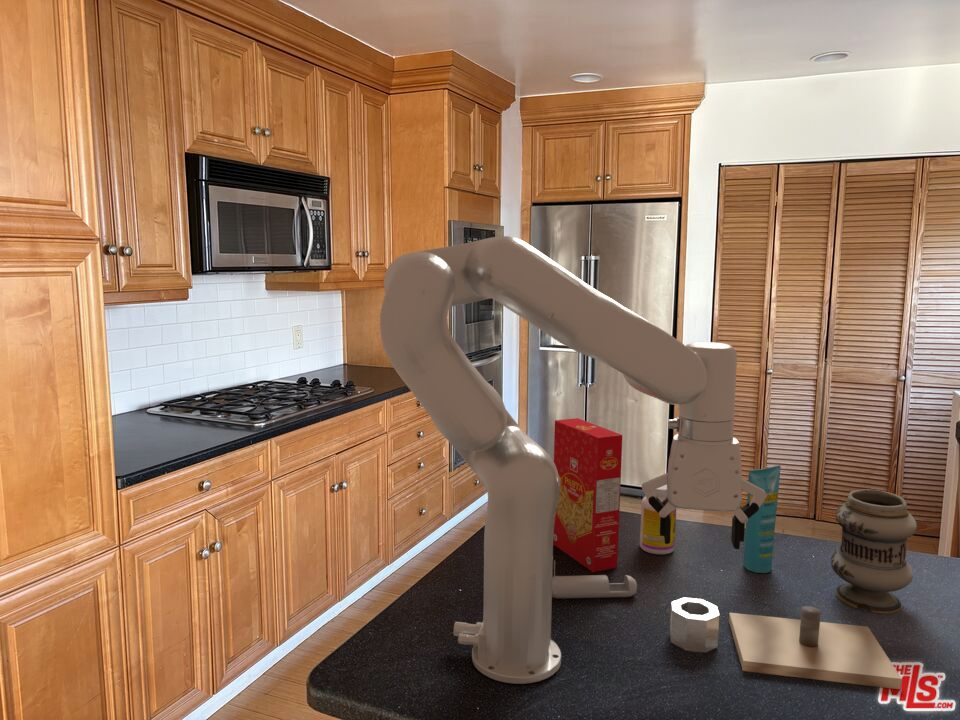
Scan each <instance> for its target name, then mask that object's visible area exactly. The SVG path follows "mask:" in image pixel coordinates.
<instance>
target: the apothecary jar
mask: <svg viewBox="0 0 960 720" xmlns="http://www.w3.org/2000/svg"><path fill="white" fill-rule="evenodd" d="M835 519H836V521H837V523H838V525H840V527H841V540H840V545H839V547H840V548H838V549H837V550H836V551H834V552H833V554H832V555H831V558H830V566H831V568H832V570H833V571H834V573H835V574H836V575H837V576H838V577H839V578H840V579H842V581H845V582H846V583H844V584H841V585H838V586H837V587H836V588H835V590H834V593H835V596H836V598H838V600H840V601H841V602H843V603H844V604H846V605H847V606H850V607H852V608H855V609H859V610H866V611H868V612H870V613H876V614H883V613H887V614H893V612H894V613H897V612H899V611H900V610H901V609H902V603H901V601H900V600H899V598H898V597H897V596H896V595H894V594H892V593H891V592H896V591H899V590H903V589H905V587H907V586H909V585H910V584H911V583H912V581H913V578H914V572H913V568H912V567H911V565H910V564H909V562H908V561H907V559H906V555H907V542H908V541H907V540H908V538H910V537H912V536H913V535H915V533H916V532H917V527H918V525H917V524H918V523H917V521H916V519H915V517H913V515H912V514H911V513H910V512H909V511H908V508H907V500H906V499H904V498H903V496H900V495H898V494H895V493H892V492H888V491H885V490H877V489H869V488H868V489H867V488H866V489H854V490H851V491H850V492H849V493H848V496H847V499H846V500H845V502H843V503H842V504H841V505H839V506H838V508H837V509H836V510H835ZM896 611H897V612H896Z"/></svg>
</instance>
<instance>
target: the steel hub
mask: <svg viewBox="0 0 960 720" xmlns="http://www.w3.org/2000/svg"><path fill="white" fill-rule="evenodd" d="M670 604H671V606H670V607H671V608H670V625H669V628H670V629H669V636H670V643H671V644H673V645H675V646H677V647H679V648H680V649H682V650H683V651H687V652H695V653H702V654H703V653H704V654H705V653H708V652H710V651H713V650H714V649H717V648H718V643H719V642H718V641H719V628H720V627H719V624H720V612H719V609H718V606H717V605H715V604H713V603H711V602H709V601H706V600H705V599H703V598H693V597H681V598H679V599H676V600H673V601H671V603H670Z"/></svg>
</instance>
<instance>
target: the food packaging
mask: <svg viewBox="0 0 960 720" xmlns="http://www.w3.org/2000/svg"><path fill="white" fill-rule="evenodd" d="M553 444H554V445H553V461H554V463H555V465H556V468H557V471H558V475H559V481H560V489H559V498H558V504H557V509H556V514H555V522H554V534H553V546H555V547H557V548H558V549H559V550H561V551H562V550H563V553H565V554H567V555H568V556H569V557H571V559H573V560H574V561H577V562H578V563H579V564H580V565H582V566H584V567H585V568H587V570H589V571H591V572H592V573H596V572H602V571H606V570H610V569H616V568H618V557H619V555H618V554H619V532H620V530H619V528H620V527H619V526H620V509H621V508H620V507H621V506H620V505H621V480H622V478H621V477H622V458H623V457H622V456H623V451H622V450H623V434H621V433H619V432H615V431H613V430H611V429H607V428H605V427H602V426H599V425H598V424H594V423H591V422H589V421H586V420H584V419H582V418H577V417H576V418H575V417H574V418H565V419H556V420H554V441H553Z"/></svg>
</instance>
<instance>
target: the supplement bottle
mask: <svg viewBox="0 0 960 720" xmlns="http://www.w3.org/2000/svg"><path fill="white" fill-rule="evenodd" d="M654 494H655V496H656V497H657V498H658V499H659V500H660V501H661V502H662V501H663V500H664V499H665V498H666V497H667V485H664V486H662V487H660V488H657V489H655V490H654ZM640 510H641V511H640V527H639V529H640V531H639V546H640V549H642V551H644V552H647V553H648V554H653V555H661V556H662V555H668V554H671V553H673V552H674V550H675V544H676V521H677V508H676V507H675V508H674V509H673V510H672V511H671V512H670V516H671V532H670V543H669V544H665V540H664V536H660V515H659V513H658V512H657V511H656V510H655V509H654V508H653V507H652V506H651V505H650V504H649V502H648V500H647V498H646V496H644V497H643V498H642V500H641V509H640Z"/></svg>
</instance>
